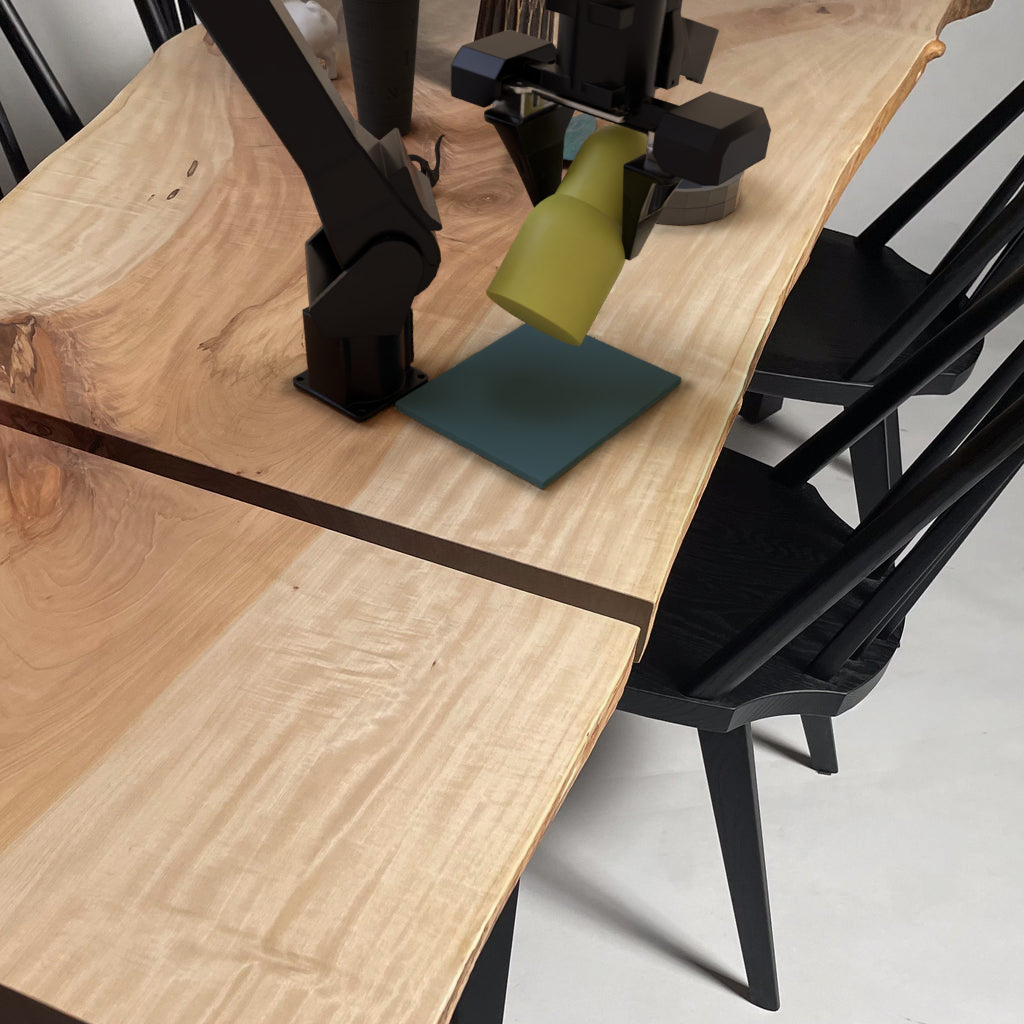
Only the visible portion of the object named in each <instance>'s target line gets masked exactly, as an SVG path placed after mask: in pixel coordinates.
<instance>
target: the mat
mask: <svg viewBox="0 0 1024 1024" xmlns="http://www.w3.org/2000/svg"><path fill="white" fill-rule="evenodd" d="M681 382H682V376H679V375H677V374H675V373H673V372H671V371H668V370H666V369H664V368H662V367H659V366H658V365H655V364H652V363H651V362H648V361H647V360H644V359H643V358H639V357H637V356H636V355H633V354H630V353H629V352H626V351H624V350H622V349H619V348H617V347H615V346H613V345H610V344H608V343H607V342H604V341H603V340H600V339H597V338H595V337H594V336H591V335H589V334H586V336H585V338H584V340H583V342H582V343H581V345H580V346H574V345H570V344H567V343H565V342H562V341H560V340H557V339H555V338H553V337H551V336H549V335H547V334H545V333H543V332H541V331H539V330H537V329H535V328H534V327H532V326H530V325H528V324H526V323H525V322H524V323H523V324H521V325H519V326H518V327H516V328H515V329H513V330H511V331H510V332H508V333H507V334H504V335H503V336H502V337H500V338H498V339H496V340H495V341H493V342H492V343H489V344H488V345H487V346H485V347H483V348H482V349H480V350H479V351H477V352H475V353H474V354H472V355H470V356H469V357H467V358H466V359H464V360H462V361H461V362H459V363H457V364H456V365H454V366H452V367H450V368H449V369H447V370H446V371H444V372H443V373H441V374H439V375H437V376H436V377H434V378H432V379H431V380H429V382H428V383H426V384H424V385H423V386H421V387H420V388H418V389H416V390H415V391H413V392H411V393H410V394H408V395H406V396H405V397H403V398H401V399H400V400H398V401H397V402H395V404H394V408H395V410H396V411H397V412H399V413H400V414H403V415H405V416H407V417H408V418H410V419H412V420H414V421H416V422H418V423H419V424H421V425H422V426H424V427H427V428H428V429H430V430H432V431H434V432H436V433H438V434H440V435H441V436H443V437H445V438H447V439H449V440H451V441H452V442H454V443H455V444H458V445H459V446H461V447H463V448H466V449H467V450H469V451H471V452H473V453H475V454H476V455H478V456H480V457H482V458H484V459H486V460H487V461H489V462H491V463H492V464H495V465H497V466H499V467H500V468H502V469H504V470H506V471H507V472H510V473H511V474H513V475H515V476H517V477H518V478H520V479H523V480H524V481H526V482H528V483H529V484H532V485H533V486H535V487H537V488H539V489H541V490H545V489H546V488H547V487H549V486H550V485H551V484H553V483H554V482H555V481H557V480H558V479H559V478H560V477H562V476H563V475H564V474H566V473H567V472H568V471H569V470H570V469H572V468H573V467H575V466H576V465H577V464H579V463H580V462H581V461H582V460H584V459H585V458H586V457H588V456H589V455H590V454H592V453H593V452H595V450H597V449H598V448H599V447H601V446H602V445H603V444H605V443H606V442H608V441H609V440H610V439H611V438H612V437H614V436H615V435H616V434H618V433H619V432H620V431H621V430H623V429H624V428H626V427H627V426H629V425H630V424H631V423H632V422H633V421H635V420H636V419H637V418H638V417H640V416H641V415H642V414H644V413H645V412H646V411H647V410H649V409H650V408H652V407H653V406H654V405H655V404H657V403H658V402H659V401H661V400H662V399H663V398H664V397H666V396H667V395H669V394H670V393H672V391H674V390H675V389H677V388H678V387H679V386H680V385H681V384H682V383H681Z"/></svg>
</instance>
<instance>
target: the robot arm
mask: <svg viewBox="0 0 1024 1024" xmlns="http://www.w3.org/2000/svg"><path fill="white" fill-rule="evenodd" d="M185 1H186V2H187V4H188V5H189V7H190V9H191V10H192V11H193V13H194V14H195V16H196V17H197V19H198V20H199V21H200V23H201V25H202V26H203V28H204V29H205V30H206V32H207V34H208V35H209V36H210V38H211V40H213V43H214V44H215V45H216V47H217V48H218V50H219V52H221V54H222V56H223V57H224V59H225V60H226V62H227V64H228V65H229V66H230V68H231V69H232V71H233V72H234V74H235V75H236V77H237V78H238V79H239V81H240V82H241V84H242V85H243V87H244V89H245V91H247V93H248V95H249V96H250V97H251V99H252V100H253V102H254V103H255V105H256V106H257V108H258V110H259V111H260V112H261V113H262V115H263V117H264V118H265V120H266V121H267V122H268V124H269V125H270V127H271V129H272V130H273V131H274V133H275V134H276V136H277V137H278V139H279V140H280V142H281V143H282V145H283V147H284V148H285V149H286V150H287V152H288V153H289V155H290V157H291V158H292V159H293V161H294V163H295V164H296V165H297V167H298V169H299V170H300V171H301V174H302V175H303V178H304V179H305V183H306V185H307V187H308V190H309V193H310V196H311V198H312V201H313V204H314V206H315V210H316V211H317V214H318V217H319V219H320V223H321V225H320V227H318V229H316V231H314V233H313V234H311V236H310V237H309V238H307V240H305V242H304V255H305V256H304V257H305V270H306V272H305V273H306V281H307V282H306V286H307V297H308V298H307V299H308V306H307V307H304V308H303V309H302V310H301V311H302V323H303V324H302V325H303V333H304V334H303V335H304V345H305V355H306V367H307V369H306V370H304V371H302V372H300V373H299V374H296V375H295V376H293V377H292V385H293V387H294V388H295V389H297V390H299V391H301V392H303V393H304V394H305V395H308V396H310V397H312V398H313V399H315V400H316V401H319V402H320V403H322V404H324V405H325V406H327V407H329V408H331V409H333V410H335V411H336V412H338V413H340V414H341V415H343V416H345V417H346V418H349V419H351V420H352V421H354V422H356V423H361V424H362V423H367V421H370V420H371V419H373V418H374V417H376V416H377V415H379V414H381V413H383V412H384V411H386V410H388V409H389V408H391V407H392V406H395V402H397V401H398V400H400V399H401V398H403V397H405V396H406V395H408V394H410V393H411V392H413V391H415V390H416V389H418V388H420V387H421V386H423V385H424V384H426V383H428V382H429V381H430V380H429V379H430V377H429V374H428V373H426V372H425V371H422V370H420V369H418V368H417V367H414V366H413V365H412V364H413V363H414V361H415V350H414V348H415V347H414V309H413V308H412V305H413V302H414V300H415V298H416V297H417V296H419V295H420V294H421V293H423V292H424V291H426V290H427V289H428V288H429V287H430V285H431V284H432V283H433V281H434V280H435V278H436V277H437V275H438V271H439V268H440V265H441V263H442V252H441V248H440V244H439V239H438V237H437V236H438V235H437V233H436V232H441V231H442V230H443V223H442V220H441V216H440V213H439V209H438V206H437V203H436V199H435V194H434V191H433V188H432V187H431V184H430V180H429V178H428V177H427V176H426V175H424V174H423V173H422V172H420V171H421V170H419V168H417V166H416V165H415V163H414V161H411V159H410V157H409V153H408V150H407V148H406V145H405V142H404V140H403V136H401V134H400V132H399V129H398V128H394V129H393V130H392V131H391V132H389V133H388V134H387V135H386V136H385V137H383V138H380V140H379V139H378V138H375V137H374V136H373V135H372V134H370V133H369V132H368V131H367V130H366V129H365V128H363V127H362V126H361V125H360V124H359V121H358V120H357V119H356V118H355V117H354V116H353V114H352V113H351V111H350V109H349V107H348V106H347V105H346V103H345V101H344V100H343V98H342V96H341V95H340V93H339V92H338V90H337V88H336V87H335V85H334V83H333V82H332V79H330V78H329V77H328V75H327V74H326V72H325V71H326V69H324V67H323V66H322V64H321V62H320V61H319V58H317V57H316V56H315V54H314V52H313V51H312V49H311V48H310V46H309V44H308V43H307V41H306V39H305V38H304V36H303V34H302V33H301V31H300V30H299V28H298V26H297V25H296V23H295V21H294V20H293V18H292V17H291V15H290V13H289V12H288V10H287V8H286V7H285V5H284V4H283V2H282V0H185ZM544 2H545V3H544V10H546V11H550V12H553V13H555V14H558V22H557V23H558V26H557V40H556V45H555V44H554V43H553V42H552V41H549V40H545V39H542V38H539V37H536V36H532V35H530V34H529V35H528V34H526V33H522V32H520V31H516V30H513V29H510V28H509V29H506V30H503V31H500V32H497V33H494V34H492V35H488V36H485V37H483V38H480V39H477V40H475V41H474V40H473V41H471V42H468V43H465V44H462V45H461V46H460V48H459V49H458V50H457V52H456V54H455V56H454V58H453V59H452V61H451V63H450V96H451V97H452V98H455V99H458V100H460V101H462V102H466V103H469V104H472V105H474V106H478V107H480V108H483V109H485V108H487V107H490V108H488V109H485V110H484V111H483V119H484V121H485V122H486V123H487V124H490V125H492V126H493V127H494V129H495V130H496V133H497V135H498V136H499V138H500V140H501V142H502V144H503V145H504V148H505V149H506V151H507V153H508V155H509V157H510V158H511V161H512V162H513V165H514V167H515V169H516V171H517V173H518V175H519V177H520V179H521V182H522V184H523V187H524V188H525V191H526V193H527V195H528V198H529V200H530V202H531V204H532V208H534V207H536V206H537V205H538V204H539V203H540V202H541V201H543V200H544V199H546V198H547V197H549V196H551V195H554V194H555V193H556V191H557V189H558V187H559V185H560V184H561V182H562V180H563V165H564V159H563V154H564V141H565V133H566V130H567V128H568V125H569V123H570V121H571V119H572V117H574V114H575V112H579V113H581V114H583V113H585V114H588V115H591V116H594V117H596V119H600V120H603V121H606V122H609V123H611V124H617V125H620V126H623V127H626V128H629V129H632V130H635V131H638V132H641V133H644V134H647V135H648V141H647V144H648V145H647V149H646V153H644V154H642V155H641V156H639V157H637V158H635V159H633V160H631V161H629V162H627V163H625V164H624V165H623V208H622V244H623V247H624V252H625V261H629V262H630V261H632V260H633V259H635V258H637V257H638V256H639V255H640V254H641V251H642V250H643V248H644V246H645V244H646V243H647V240H648V239H649V237H650V235H651V233H652V232H653V229H654V228H655V225H656V224H657V223H656V222H657V220H658V218H659V216H660V214H661V213H662V211H663V209H664V207H665V205H666V203H667V202H668V200H669V198H670V196H671V195H672V193H673V192H674V190H675V189H676V188H677V186H678V185H679V183H680V182H681V181H682V179H685V180H688V181H691V182H693V183H696V184H699V185H702V186H718V185H720V184H722V183H724V182H725V181H727V180H729V179H730V178H732V177H734V176H736V175H737V174H739V173H741V172H742V171H744V170H745V171H746V170H747V169H749V168H751V167H752V166H755V165H757V164H758V163H760V162H761V161H764V160H765V159H766V157H767V152H768V147H769V141H770V137H771V132H772V128H771V124H770V122H769V118H768V116H767V114H766V111H765V109H764V107H762V106H759V105H756V104H752V103H749V102H747V101H743V100H739V99H737V98H734V97H731V96H727V95H724V94H720V93H717V92H714V91H710V90H709V91H707V92H705V93H702V94H701V95H699V96H696V97H695V98H692V99H690V100H688V101H686V102H684V103H682V104H680V105H679V104H676V103H672V102H669V101H666V100H663V99H660V98H657V97H656V90H659V89H664V90H665V91H669V90H671V89H673V88H675V87H677V86H679V84H680V77H681V76H682V77H684V78H685V80H687V81H689V82H691V83H692V82H693V83H694V84H698V85H703V83H704V79H705V76H706V74H707V70H708V67H709V65H710V64H709V63H710V61H711V57H712V54H713V52H714V49H715V45H716V42H717V39H718V35H719V33H720V29H718V28H715V27H713V26H710V25H707V24H704V23H702V22H698V21H696V20H693V19H691V18H687V17H684V16H682V6H683V0H545V1H544ZM491 105H492V106H491ZM745 171H744V172H745Z"/></svg>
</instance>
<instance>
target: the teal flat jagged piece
mask: <svg viewBox="0 0 1024 1024" xmlns="http://www.w3.org/2000/svg"><path fill="white" fill-rule="evenodd" d="M596 128H597V117H594V116H591V115H588V114H585V113H580V114H577V115H574V116H572V119H571V121H570V123H569V125H568V128H567V130H566V133H565V141H564V154H563V160H567V161H573V160H574V158H575V156H576V154H577V153H578V151H579V149H580V147H581V145H582V144H583V142H584V141H585V139H586V138H587V137H588V136H589V135H590V134H591V133H593V132H594V131H595V130H597V129H596Z"/></svg>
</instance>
